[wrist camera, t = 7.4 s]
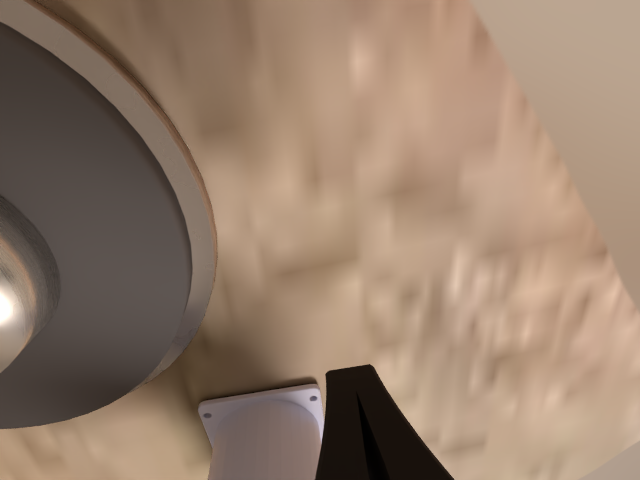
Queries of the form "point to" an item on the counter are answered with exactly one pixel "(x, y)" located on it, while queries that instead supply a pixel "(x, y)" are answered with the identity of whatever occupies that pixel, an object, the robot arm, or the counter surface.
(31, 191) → the turntable
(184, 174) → the base
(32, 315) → the cover
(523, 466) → the counter surface
